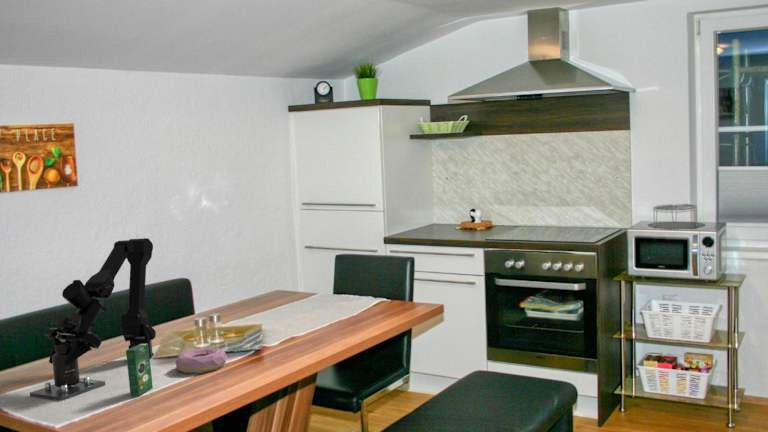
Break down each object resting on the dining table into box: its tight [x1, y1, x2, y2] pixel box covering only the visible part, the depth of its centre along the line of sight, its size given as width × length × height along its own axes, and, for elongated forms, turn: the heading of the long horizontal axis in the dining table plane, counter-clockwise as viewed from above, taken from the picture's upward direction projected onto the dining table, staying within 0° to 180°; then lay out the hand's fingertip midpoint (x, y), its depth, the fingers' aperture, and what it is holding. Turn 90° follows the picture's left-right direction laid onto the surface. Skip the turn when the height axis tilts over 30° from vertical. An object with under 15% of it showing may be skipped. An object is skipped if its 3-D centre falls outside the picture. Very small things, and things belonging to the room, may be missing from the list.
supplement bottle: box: [52, 341, 81, 387], centre depth 230 cm, size 7×7×12 cm
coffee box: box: [125, 343, 154, 398], centre depth 222 cm, size 8×3×13 cm, turn 168°
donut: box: [175, 347, 228, 374], centre depth 243 cm, size 16×15×5 cm
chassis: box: [29, 376, 106, 402], centre depth 230 cm, size 15×14×3 cm
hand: (57, 363), depth 228 cm, fingers closed on supplement bottle, 6 cm apart
